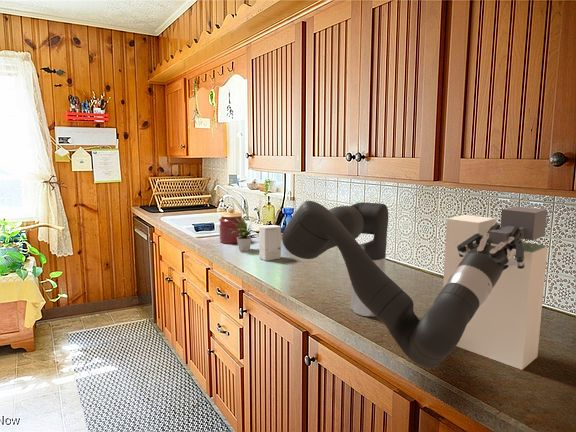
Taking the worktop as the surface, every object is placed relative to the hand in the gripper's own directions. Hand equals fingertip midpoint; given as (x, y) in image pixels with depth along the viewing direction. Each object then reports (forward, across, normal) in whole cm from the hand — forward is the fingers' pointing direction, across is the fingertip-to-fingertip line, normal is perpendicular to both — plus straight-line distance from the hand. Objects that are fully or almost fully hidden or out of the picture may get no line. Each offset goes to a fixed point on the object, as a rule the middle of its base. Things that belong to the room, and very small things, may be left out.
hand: (507, 228), depth 93 cm
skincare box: (+3, +110, +40) cm, 117 cm away
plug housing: (+2, 0, +4) cm, 4 cm away
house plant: (+3, +132, +40) cm, 138 cm away
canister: (+9, +151, +43) cm, 157 cm away
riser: (-9, +6, +32) cm, 34 cm away
